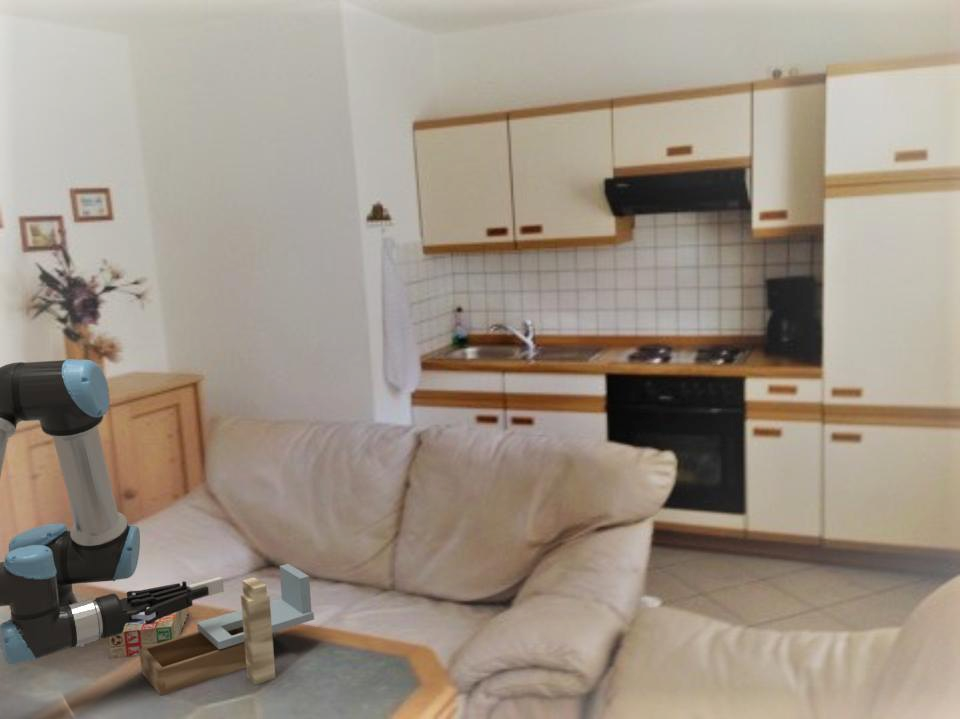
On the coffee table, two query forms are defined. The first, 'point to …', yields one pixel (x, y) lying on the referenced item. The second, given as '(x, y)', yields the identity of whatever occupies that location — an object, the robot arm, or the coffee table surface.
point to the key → (257, 631)
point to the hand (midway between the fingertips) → (221, 584)
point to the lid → (283, 610)
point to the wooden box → (189, 661)
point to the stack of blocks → (146, 634)
